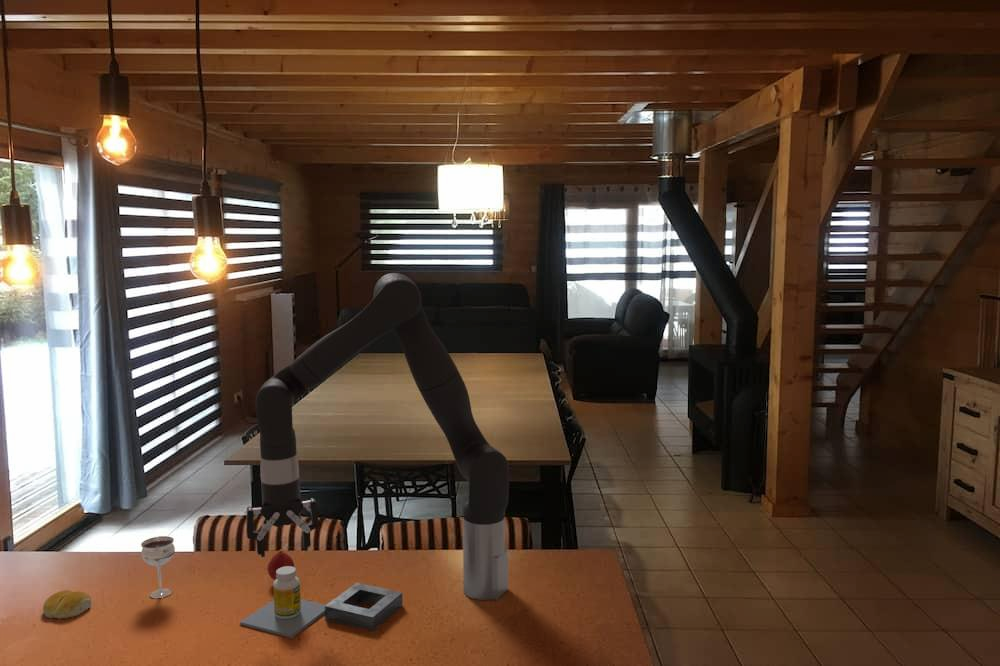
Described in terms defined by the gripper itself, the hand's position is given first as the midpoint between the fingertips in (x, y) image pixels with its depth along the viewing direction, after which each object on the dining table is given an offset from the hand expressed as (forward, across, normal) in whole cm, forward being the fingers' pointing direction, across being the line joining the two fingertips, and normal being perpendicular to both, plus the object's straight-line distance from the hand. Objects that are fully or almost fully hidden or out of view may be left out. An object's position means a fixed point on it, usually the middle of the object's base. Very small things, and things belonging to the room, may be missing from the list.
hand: (284, 552), depth 161 cm
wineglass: (+14, -25, +20) cm, 35 cm away
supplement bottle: (+14, 0, 0) cm, 14 cm away
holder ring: (+14, +15, -4) cm, 21 cm away
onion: (+14, 0, +16) cm, 22 cm away
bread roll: (+14, -43, +20) cm, 49 cm away
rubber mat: (+14, 0, 0) cm, 14 cm away
